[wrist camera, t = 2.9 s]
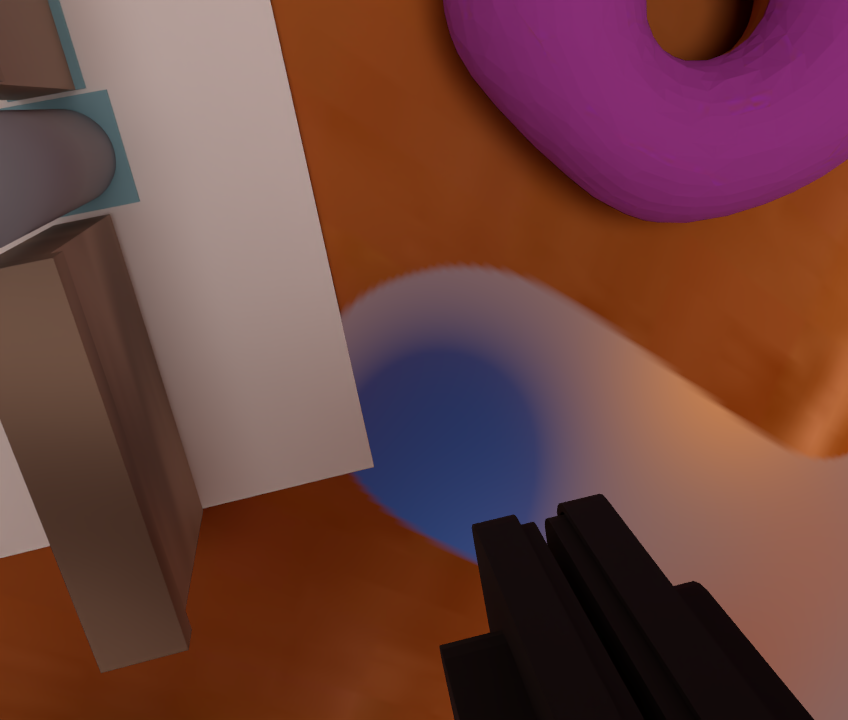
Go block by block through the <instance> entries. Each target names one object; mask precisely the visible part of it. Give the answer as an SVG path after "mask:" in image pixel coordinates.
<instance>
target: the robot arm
mask: <svg viewBox="0 0 848 720" xmlns="http://www.w3.org/2000/svg"><path fill="white" fill-rule="evenodd" d="M557 515H558V516H555V517H552V518H547V519H546V520H545V530H546V538H547V543H546V542H545V540H544V538H543V536H542V535H541V533H540V531H539V529H538V527H537V525H536V524H535V523H534V522H530V523H526V524H522V525H521V524H520V523H519V521H518V519H517V517H516V516H515V515H510V516H506V517H502V518H497V519H493V520H489V521H485V522H481V523H477V524H473V525H472V532H473V538H474V544H475V550H476V556H477V561H478V567H479V572H480V578H481V584H482V589H483V595H484V600H485V606H486V612H487V617H488V623H489V628H490V633H487V634H483V635H479V636H475V637H471V638H467V639H463V640H459V641H456V642H452V643H448V644H444V645H440V652H441V658H442V663H443V668H444V672H445V677H446V682H447V687H448V691H449V696H450V701H451V705H452V710H453V714H454V719H455V720H814V719H813V718H812V717H811V715H810V714H809V713H808V712H807V711H806V709H805V708H804V707H803V706H802V704H801V703H800V702H799V701H798V700H797V699H796V697H795V696H794V695H793V693H792V692H791V691H790V690H789V689H788V687H787V686H786V685H785V684H784V683H783V681H782V680H781V679H780V678H779V677H778V675H777V674H776V673H775V672H774V670H773V669H772V668H771V667H770V666H769V664H768V663H767V662H766V661H765V660H764V658H763V657H762V656H761V655H760V653H759V652H758V651H757V650H756V649H755V647H754V646H753V645H752V644H751V643H750V641H749V640H748V639H747V638H746V637H745V635H744V634H743V633H742V632H741V631H740V629H739V628H738V627H737V626H736V624H735V623H734V622H733V621H732V620H731V618H730V617H729V616H728V615H727V614H726V612H725V611H724V610H723V609H722V607H721V606H720V605H719V604H718V603H717V601H716V600H715V599H714V598H713V597H712V595H711V594H710V593H709V592H708V591H707V590H706V589H705V588H704V587H703V586H702V585H701V584H700V583H697V582H694V581H692V582H688V583H684V584H680V585H677V586H672V584H671V583H670V581H669V580H668V579H667V577H666V576H665V575H664V574H663V572H662V571H661V570H660V568H659V567H658V566H657V564H656V563H655V562H654V560H653V559H652V558H651V556H650V555H649V554H648V553H647V551H646V550H645V549H644V547H643V546H642V545H641V543H640V542H639V541H638V539H637V538H636V537H635V536H634V534H633V533H632V532H631V530H630V529H629V528H628V526H627V525H626V524H625V522H624V521H623V520H622V518H621V517H620V516H619V514H618V513H617V512H616V511H615V509H614V508H613V507H612V505H611V504H610V503H609V502H608V500H607V499H606V498H605V497H604V496H603V495H602V494H597V495H593V496H589V497H585V498H581V499H576V500H572V501H568V502H564V503H560V504H559V505H558V508H557Z"/></svg>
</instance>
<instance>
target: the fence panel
mask: <svg viewBox="0 0 848 720" xmlns="http://www.w3.org/2000/svg"><path fill="white" fill-rule="evenodd" d="M0 421H1V423H2V426H3V428H4V431H5V433H6V436H7V438H8V441H9V443H10V446H11V448H12V451H13V453H14V456H15V458H16V461H17V463H18V466H19V468H20V471H21V473H22V476H23V479H24V481H25V484H26V486H27V489H28V491H29V494H30V496H31V499H32V501H33V504H34V506H35V509H36V511H37V514H38V516H39V519H40V521H41V524H42V526H43V529H44V531H45V534H46V536H47V539H48V541H49V544H50V546H51V549H52V551H53V554H54V556H55V559H56V561H57V564H58V566H59V569H60V571H61V574H62V576H63V579H64V581H65V584H66V587H67V589H68V592H69V594H70V597H71V599H72V602H73V604H74V607H75V609H76V612H77V614H78V617H79V619H80V622H81V624H82V627H83V629H84V632H85V634H86V637H87V639H88V642H89V644H90V647H91V649H92V652H93V654H94V657H95V659H96V662H97V664H98V667H99V669H100V672H101V673H103V672H107V671H111V670H114V669H118V668H122V667H126V666H130V665H133V664H137V663H141V662H145V661H149V660H152V659H156V658H160V657H164V656H167V655H171V654H175V653H179V652H183V651H186V650H189V644H190V638H191V631H192V629H191V626H190V623H189V620H188V617H187V614H186V611H185V609H186V604H187V598H188V592H189V587H190V581H191V576H192V570H193V564H194V559H195V553H196V548H197V542H198V536H199V531H200V525H201V520H202V514H203V508H202V505H201V502H200V499H199V496H198V492H197V489H196V486H195V483H194V480H193V476H192V473H191V470H190V467H189V464H188V461H187V457H186V454H185V451H184V448H183V445H182V441H181V438H180V435H179V432H178V429H177V426H176V422H175V419H174V416H173V413H172V410H171V406H170V403H169V400H168V397H167V394H166V390H165V387H164V384H163V381H162V378H161V375H160V371H159V368H158V365H157V362H156V359H155V355H154V352H153V349H152V346H151V343H150V340H149V336H148V333H147V330H146V327H145V324H144V320H143V317H142V314H141V311H140V308H139V304H138V301H137V298H136V295H135V292H134V289H133V285H132V282H131V279H130V276H129V273H128V269H127V266H126V263H125V260H124V257H123V254H122V250H121V247H120V244H119V241H118V238H117V234H116V231H115V228H114V225H113V222H112V218H111V215H110V214H108V215H103V216H97V217H92V218H87V219H82V220H77V221H72V222H67V223H62V224H57V225H53V226H51V227H50V228H48V229H46V230H44V231H42V232H40V233H39V234H37V235H35V236H33V237H31V238H29V239H27V240H26V241H24V242H22V243H20V244H18V245H16V246H15V247H13V248H11V249H9V250H7V251H5V252H4V253H2V254H0Z"/></svg>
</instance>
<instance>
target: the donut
mask: <svg viewBox="0 0 848 720" xmlns="http://www.w3.org/2000/svg"><path fill="white" fill-rule="evenodd" d="M443 4H444V12H445V16H446V20H447V24H448V28H449V32H450V35H451V38H452V40H453V43H454V45H455V48H456V50H457V53H458V54H459V56H460V58H461V59H462V61H463V63H464V64H465V66H466V68H467V69H468V71H469V73H470V74H471V76H472V77H473V78H474V80H475V81H476V82H477V83H478V85H479V86H480V87H481V88H482V90H483V91H484V92H485V93H486V95H487V96H488V97H489V98H490V100H491V101H492V102H493V103H494V104H495V105H496V107H497V108H498V109H499V110H500V111H501V112H502V113H503V114H504V115H505V116H506V117H507V118H508V119H509V120H510V121H511V123H512V124H513V125H514V126H515V127H516V128H517V129H518V130H519V131H520V132H521V133H522V134H523V135H524V136H525V137H526V138H527V139H528V140H529V141H530V142H531V143H532V144H533V145H534V146H535V147H536V148H537V149H538V150H539V151H540V152H541V153H542V154H544V155H545V156H546V157H547V158H548V159H549V160H550V161H551V162H552V163H554V164H555V165H556V166H557V167H558V168H559V169H560V170H561V171H562V172H564V173H565V174H566V175H567V176H568V177H569V178H570V179H572V180H573V181H574V182H575V183H577V184H578V185H579V186H580V187H582V188H583V189H584V190H585V191H587V192H588V193H589V194H590V195H592V196H593V197H594V198H596V199H598V200H600V201H602V202H604V203H606V204H607V205H609V206H611V207H613V208H615V209H617V210H619V211H621V212H622V213H624V214H627V215H630V216H633V217H636V218H639V219H642V220H645V221H653V222H678V223H687V222H693V221H699V220H705V219H711V218H716V217H722V216H727V215H731V214H734V213H737V212H740V211H744V210H747V209H750V208H753V207H757V206H760V205H763V204H766V203H768V202H770V201H773V200H775V199H778V198H780V197H782V196H785V195H787V194H789V193H792V192H794V191H796V190H798V189H799V188H801V187H803V186H805V185H807V184H809V183H811V182H813V181H815V180H816V179H818V178H820V177H822V176H823V175H825V174H826V173H828V172H830V171H831V170H832V169H834V168H835V167H837V166H838V165H840V164H841V163H843V162H844V161H845V160H847V159H848V0H754V3H753V9H752V13H751V17H750V20H749V23H748V26H747V28H746V30H745V31H744V33H743V35H742V37H741V38H740V39H739V41H738V42H737V43H736V44H735V45H734V47H733V48H732V49H731V50H729V51H727V52H726V53H724V54H723V55H721V56H718V57H716V58H713V59H710V60H698V61H684V60H682V59H679V58H676V57H673V56H672V55H670V54H669V53H667V52H666V51H664V50H663V49H662V48H661V47H660V46H659V44H658V43H657V41H656V40H655V39H654V37H653V35H652V32H651V29H650V27H649V24H648V21H647V13H646V0H443Z"/></svg>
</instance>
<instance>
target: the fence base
mask: <svg viewBox="0 0 848 720" xmlns="http://www.w3.org/2000/svg"><path fill="white" fill-rule="evenodd" d="M108 214H110V215H111V218H112V222H113V225H114V228H115V231H116V234H117V238H118V241H119V244H120V247H121V250H122V254H123V257H124V260H125V263H126V266H127V269H128V273H129V276H130V279H131V282H132V285H133V289H134V292H135V295H136V298H137V301H138V304H139V308H140V311H141V314H142V317H143V320H144V324H145V327H146V330H147V333H148V336H149V340H150V343H151V346H152V349H153V352H154V355H155V359H156V362H157V365H158V368H159V371H160V375H161V378H162V381H163V384H164V387H165V390H166V394H167V397H168V400H169V403H170V406H171V410H172V413H173V416H174V419H175V422H176V426H177V429H178V432H179V435H180V438H181V441H182V445H183V448H184V451H185V454H186V457H187V461H188V464H189V467H190V470H191V473H192V476H193V480H194V483H195V486H196V489H197V492H198V496H199V499H200V502H201V505H202V508H208V507H212V506H216V505H220V504H224V503H228V502H232V501H236V500H240V499H244V498H248V497H253V496H257V495H261V494H265V493H269V492H273V491H277V490H281V489H285V488H289V487H294V486H298V485H302V484H306V483H310V482H314V481H318V480H322V479H326V478H330V477H334V476H339V475H343V474H347V473H351V472H355V471H359V470H363V469H367V468H371V467H374V465H373V460H372V456H371V451H370V447H369V442H368V438H367V433H366V429H365V424H364V420H363V415H362V411H361V406H360V402H359V397H358V393H357V389H356V384H355V379H354V375H353V370H352V366H351V361H350V357H349V353H348V348H347V343H346V339H345V335H344V330H343V325H342V321H341V316H340V312H339V307H338V303H337V298H336V294H335V290H334V285H333V281H332V276H331V272H330V267H329V263H328V258H327V254H326V249H325V245H324V240H323V236H322V231H321V227H320V222H319V218H318V213H317V209H316V204H315V200H314V195H313V191H312V186H311V182H310V177H309V173H308V168H307V164H306V159H305V155H304V150H303V146H302V141H301V137H300V132H299V128H298V123H297V119H296V115H295V110H294V106H293V101H292V97H291V92H290V88H289V83H288V79H287V74H286V70H285V65H284V61H283V56H282V52H281V47H280V43H279V38H278V34H277V29H276V25H275V20H274V16H273V11H272V7H271V2H270V0H0V254H2V253H4V252H5V251H7V250H9V249H11V248H13V247H15V246H16V245H18V244H20V243H22V242H24V241H26V240H27V239H29V238H31V237H33V236H35V235H37V234H39V233H40V232H42V231H44V230H46V229H48V228H50V227H51V226H53V225H57V224H62V223H67V222H72V221H77V220H82V219H87V218H92V217H97V216H103V215H108ZM48 546H50V544H49V541H48V539H47V536H46V534H45V531H44V529H43V526H42V524H41V521H40V519H39V516H38V514H37V511H36V509H35V506H34V504H33V501H32V499H31V496H30V494H29V491H28V489H27V486H26V484H25V481H24V479H23V476H22V473H21V471H20V468H19V466H18V463H17V461H16V458H15V456H14V453H13V451H12V448H11V446H10V443H9V441H8V438H7V436H6V433H5V431H4V428H3V426H2V423H1V421H0V558H3V557H7V556H11V555H15V554H19V553H23V552H27V551H31V550H35V549H40V548H44V547H48Z"/></svg>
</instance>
